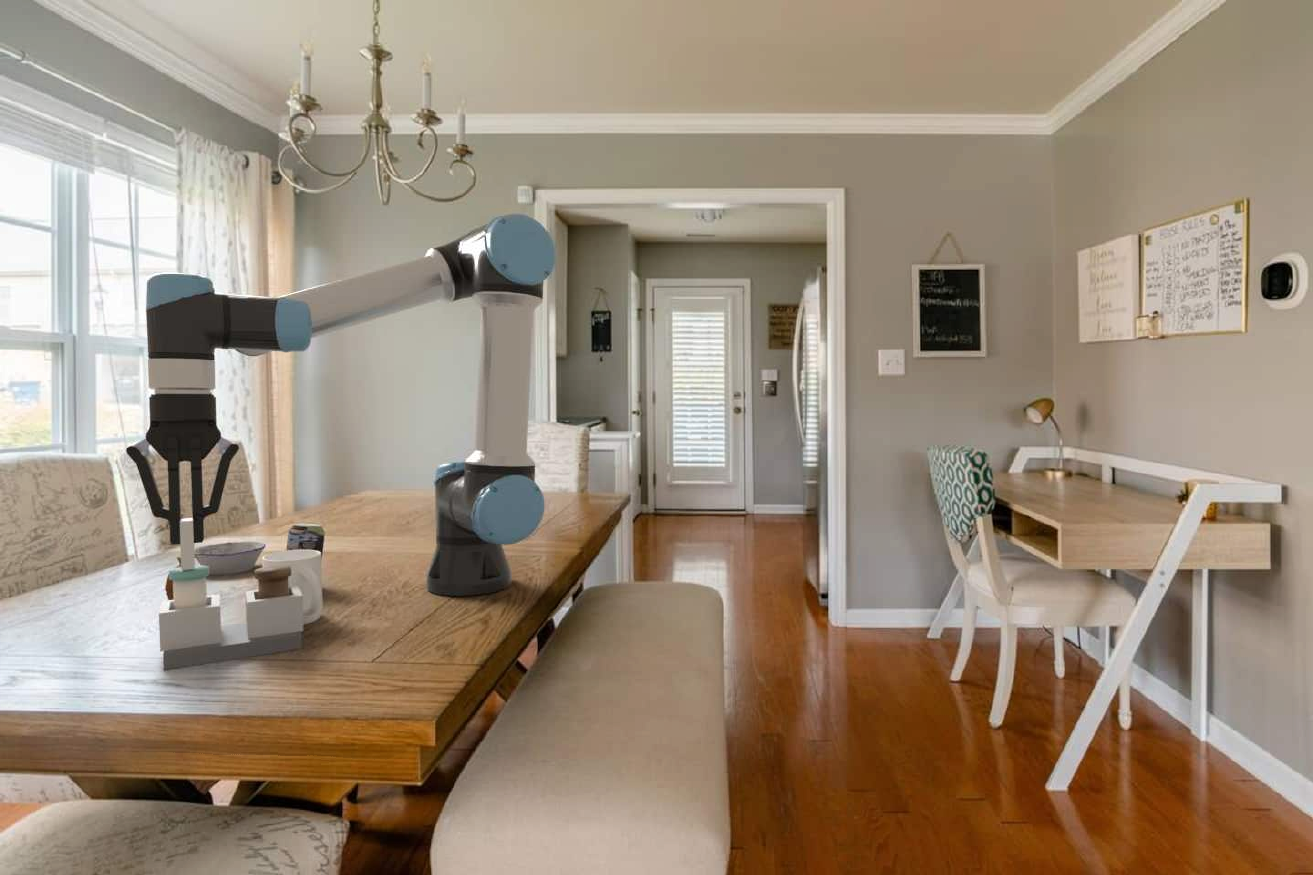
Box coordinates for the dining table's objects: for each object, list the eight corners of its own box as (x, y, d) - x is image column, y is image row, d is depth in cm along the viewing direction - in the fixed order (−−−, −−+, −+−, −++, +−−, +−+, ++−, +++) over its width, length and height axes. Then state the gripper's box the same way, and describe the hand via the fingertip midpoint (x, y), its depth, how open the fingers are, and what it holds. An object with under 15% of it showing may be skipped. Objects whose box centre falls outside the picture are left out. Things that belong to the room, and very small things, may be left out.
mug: (344, 623, 115) (342, 557, 114) (290, 636, 108) (288, 567, 108) (307, 609, 122) (306, 547, 122) (254, 620, 116) (252, 555, 115)
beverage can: (274, 591, 133) (272, 525, 132) (307, 582, 140) (306, 519, 139) (300, 595, 131) (299, 527, 130) (333, 585, 138) (331, 521, 137)
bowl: (255, 575, 145) (254, 551, 145) (182, 579, 142) (181, 554, 142) (273, 561, 158) (273, 538, 157) (206, 564, 155) (205, 541, 154)
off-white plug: (211, 620, 104) (209, 563, 103) (210, 629, 100) (208, 570, 99) (171, 625, 102) (169, 567, 101) (170, 634, 98) (167, 574, 97)
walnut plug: (291, 617, 109) (289, 564, 109) (294, 626, 105) (292, 570, 105) (255, 622, 107) (254, 567, 106) (257, 631, 103) (255, 574, 102)
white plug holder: (298, 628, 112) (296, 582, 112) (304, 647, 103) (303, 598, 103) (164, 647, 104) (162, 598, 103) (160, 670, 95) (157, 616, 95)
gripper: (238, 392, 105) (242, 557, 107) (126, 392, 99) (131, 567, 100) (239, 392, 99) (244, 567, 100) (119, 391, 92) (126, 579, 94)
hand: (188, 567), depth 100 cm, fingers closed
